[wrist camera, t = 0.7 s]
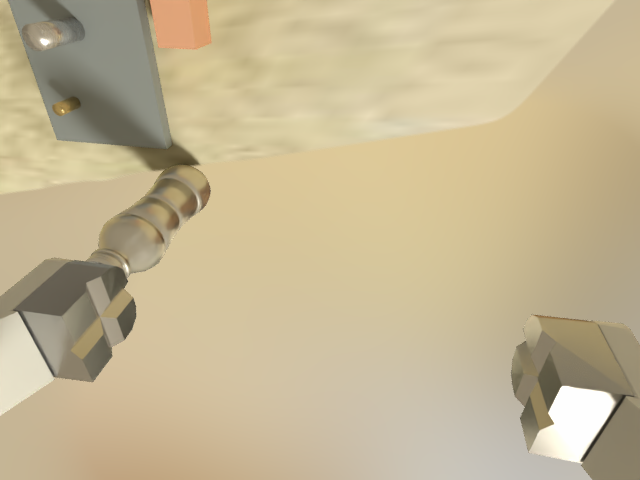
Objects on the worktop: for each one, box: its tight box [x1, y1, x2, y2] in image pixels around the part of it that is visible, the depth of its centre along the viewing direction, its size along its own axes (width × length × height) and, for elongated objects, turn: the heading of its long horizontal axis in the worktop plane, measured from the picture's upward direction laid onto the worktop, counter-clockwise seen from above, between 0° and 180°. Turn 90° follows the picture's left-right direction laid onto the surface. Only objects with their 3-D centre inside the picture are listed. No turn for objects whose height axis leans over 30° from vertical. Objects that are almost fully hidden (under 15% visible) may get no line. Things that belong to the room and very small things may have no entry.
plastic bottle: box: [85, 164, 211, 278], centre depth 47 cm, size 6×7×20 cm
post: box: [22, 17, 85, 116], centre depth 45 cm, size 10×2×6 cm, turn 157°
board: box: [8, 0, 172, 149], centre depth 47 cm, size 22×15×2 cm
